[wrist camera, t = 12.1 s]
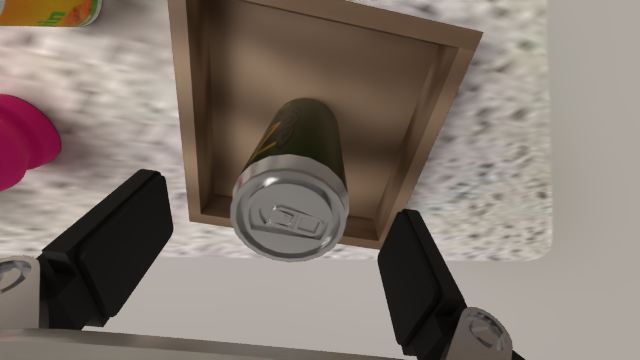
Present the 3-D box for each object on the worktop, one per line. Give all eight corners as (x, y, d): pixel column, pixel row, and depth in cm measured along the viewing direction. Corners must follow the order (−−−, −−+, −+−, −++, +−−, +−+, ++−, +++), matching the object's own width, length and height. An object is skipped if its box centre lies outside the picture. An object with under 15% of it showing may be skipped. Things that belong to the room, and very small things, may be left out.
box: (196, -27, 17) (163, -42, 13) (453, 32, 18) (483, 32, 15) (207, 195, 26) (189, 221, 22) (378, 222, 27) (386, 250, 24)
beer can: (348, 109, 20) (373, 190, 10) (324, 165, 23) (325, 276, 12) (283, 85, 19) (237, 146, 9) (266, 146, 22) (215, 248, 12)
